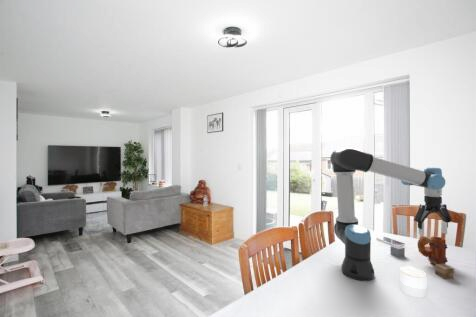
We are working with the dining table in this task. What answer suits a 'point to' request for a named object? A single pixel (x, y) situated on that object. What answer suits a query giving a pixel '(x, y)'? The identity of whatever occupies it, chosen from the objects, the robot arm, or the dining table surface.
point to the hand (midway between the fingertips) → (432, 233)
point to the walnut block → (444, 271)
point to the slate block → (397, 251)
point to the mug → (433, 249)
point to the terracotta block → (427, 247)
